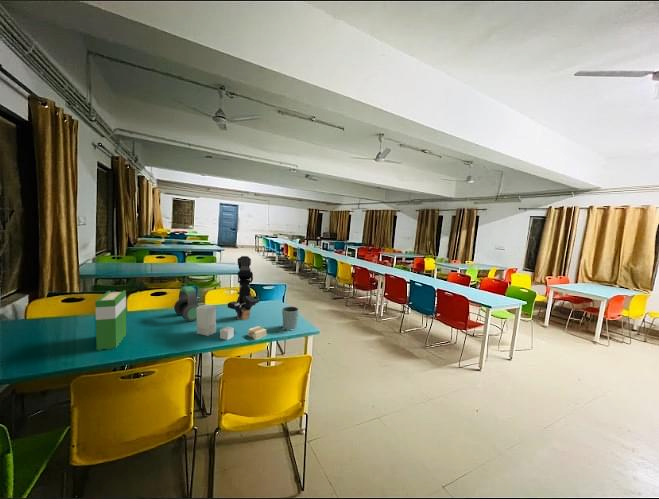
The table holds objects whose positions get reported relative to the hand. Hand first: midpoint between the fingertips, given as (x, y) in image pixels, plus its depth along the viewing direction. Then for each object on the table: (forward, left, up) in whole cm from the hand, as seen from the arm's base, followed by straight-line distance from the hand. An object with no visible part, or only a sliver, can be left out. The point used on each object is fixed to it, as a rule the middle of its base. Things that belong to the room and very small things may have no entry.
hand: (243, 316), depth 158 cm
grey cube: (+1, -12, -8) cm, 15 cm away
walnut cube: (0, 0, -1) cm, 1 cm away
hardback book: (-37, -51, -9) cm, 64 cm away
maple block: (+12, 0, -9) cm, 15 cm away
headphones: (-41, -10, -9) cm, 43 cm away
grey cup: (+18, +21, -9) cm, 29 cm away
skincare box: (-12, -16, -9) cm, 22 cm away
